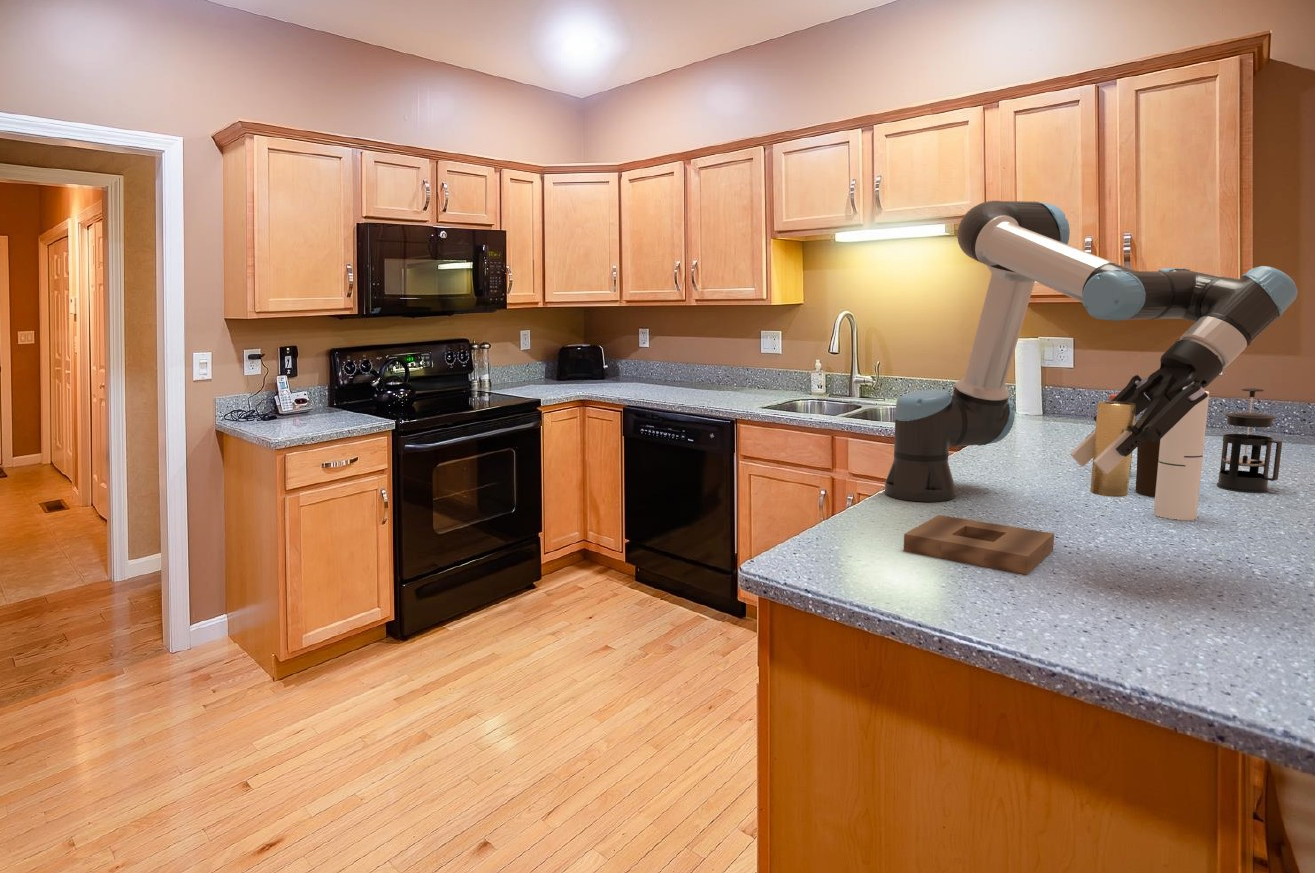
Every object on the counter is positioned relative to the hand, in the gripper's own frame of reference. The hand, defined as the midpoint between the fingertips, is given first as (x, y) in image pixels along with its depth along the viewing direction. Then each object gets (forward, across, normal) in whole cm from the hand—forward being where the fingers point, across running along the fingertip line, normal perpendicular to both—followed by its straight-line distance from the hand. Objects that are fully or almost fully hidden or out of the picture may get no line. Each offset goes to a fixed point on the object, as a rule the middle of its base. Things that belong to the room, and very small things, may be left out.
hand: (1088, 463), depth 116 cm
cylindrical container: (-15, +30, -41) cm, 53 cm away
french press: (-38, +50, -64) cm, 90 cm away
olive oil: (-23, +48, -48) cm, 72 cm away
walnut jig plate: (+19, +13, -6) cm, 24 cm away
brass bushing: (+1, 0, -6) cm, 6 cm away
